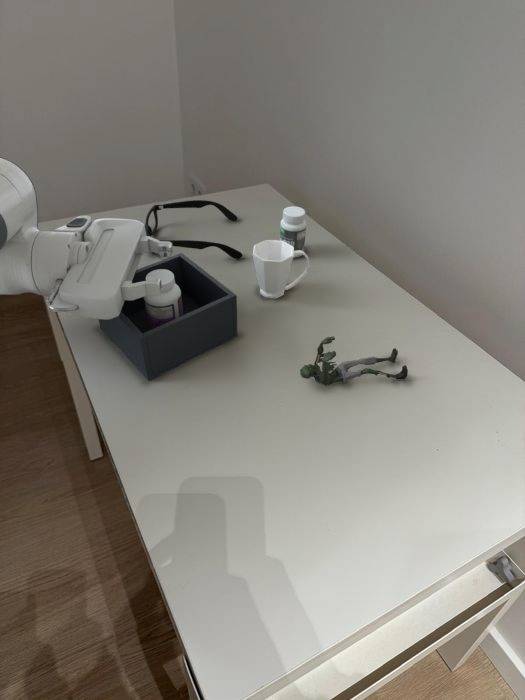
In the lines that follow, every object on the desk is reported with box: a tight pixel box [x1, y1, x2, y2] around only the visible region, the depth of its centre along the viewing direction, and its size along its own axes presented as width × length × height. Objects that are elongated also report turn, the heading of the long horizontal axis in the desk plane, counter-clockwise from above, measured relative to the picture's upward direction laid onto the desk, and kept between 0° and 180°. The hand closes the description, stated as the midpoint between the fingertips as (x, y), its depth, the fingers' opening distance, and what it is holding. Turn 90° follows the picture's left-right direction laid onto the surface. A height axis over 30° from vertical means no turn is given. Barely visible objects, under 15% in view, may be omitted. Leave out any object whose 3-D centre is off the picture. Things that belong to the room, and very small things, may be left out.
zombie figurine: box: [299, 335, 409, 386], centre depth 71 cm, size 5×7×15 cm
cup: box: [252, 239, 311, 300], centre depth 86 cm, size 7×10×8 cm
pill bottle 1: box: [144, 269, 184, 330], centre depth 76 cm, size 5×5×10 cm
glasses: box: [144, 199, 244, 260], centre depth 99 cm, size 17×18×5 cm
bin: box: [98, 252, 238, 382], centre depth 77 cm, size 16×15×8 cm
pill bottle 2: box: [279, 205, 307, 259], centre depth 95 cm, size 5×5×8 cm
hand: (166, 267), depth 71 cm, fingers open, 8 cm apart
